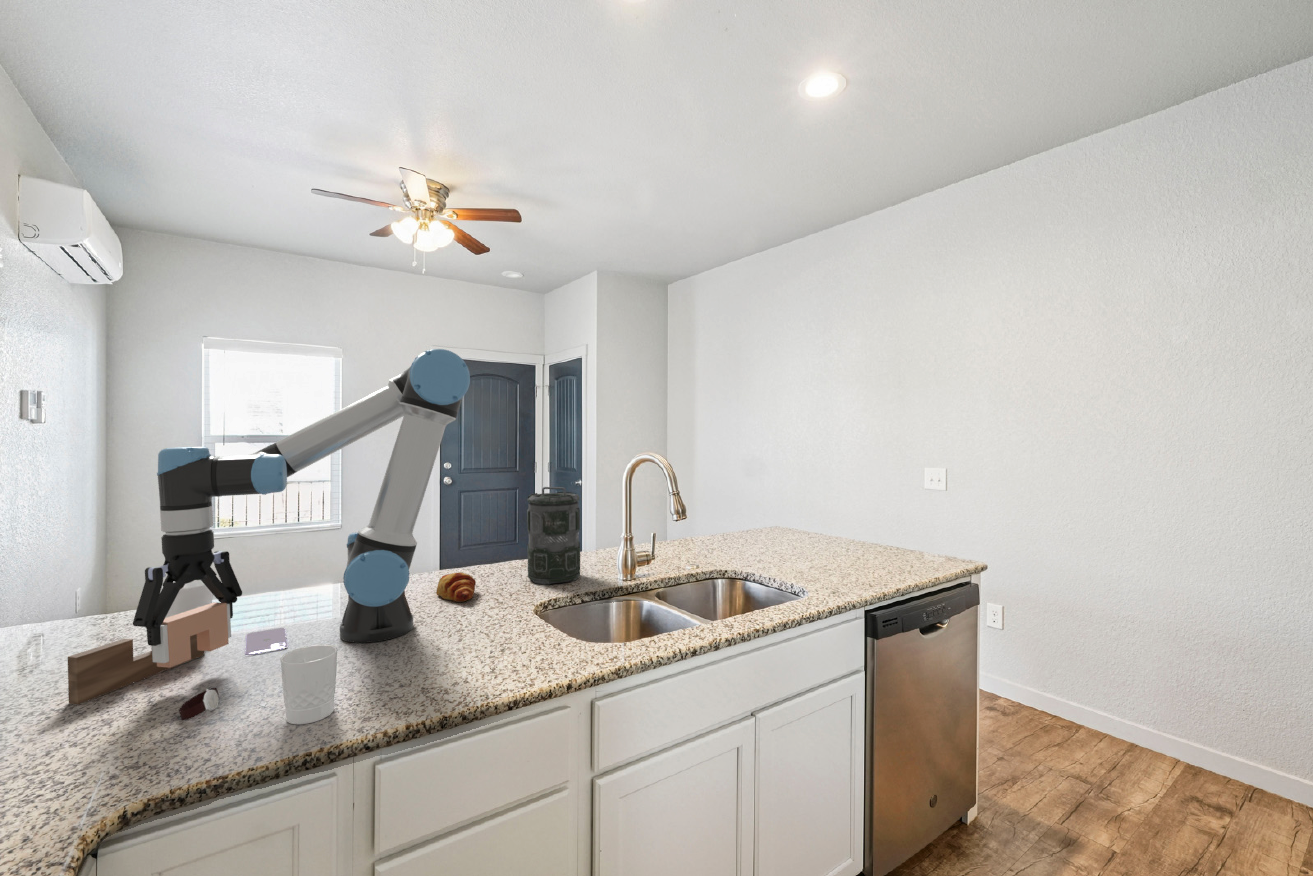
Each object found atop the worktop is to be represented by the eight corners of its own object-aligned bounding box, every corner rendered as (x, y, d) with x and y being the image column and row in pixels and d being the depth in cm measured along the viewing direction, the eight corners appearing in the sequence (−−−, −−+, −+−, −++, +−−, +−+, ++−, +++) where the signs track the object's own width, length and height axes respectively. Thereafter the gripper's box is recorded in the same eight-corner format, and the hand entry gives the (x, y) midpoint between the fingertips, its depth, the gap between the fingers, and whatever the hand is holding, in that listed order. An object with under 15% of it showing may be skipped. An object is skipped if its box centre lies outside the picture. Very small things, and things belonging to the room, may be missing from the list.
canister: (519, 584, 174) (518, 489, 173) (538, 571, 190) (538, 484, 189) (571, 586, 171) (570, 490, 171) (586, 573, 187) (586, 484, 186)
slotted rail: (204, 655, 121) (203, 616, 121) (77, 705, 100) (76, 657, 99) (196, 654, 121) (196, 615, 121) (68, 703, 100) (67, 656, 100)
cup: (185, 647, 125) (183, 591, 125) (150, 644, 127) (149, 588, 127) (224, 632, 134) (223, 580, 134) (191, 629, 136) (190, 578, 136)
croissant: (436, 600, 170) (422, 577, 168) (467, 579, 175) (453, 557, 173) (457, 618, 153) (442, 593, 151) (491, 594, 158) (476, 570, 156)
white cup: (297, 704, 100) (296, 645, 99) (346, 702, 100) (345, 643, 100) (271, 728, 92) (270, 664, 92) (324, 725, 92) (323, 662, 92)
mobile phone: (285, 626, 137) (288, 646, 124) (285, 630, 137) (288, 650, 124) (245, 632, 132) (244, 653, 120) (245, 636, 132) (244, 658, 120)
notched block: (216, 643, 115) (214, 602, 115) (228, 644, 114) (226, 603, 114) (156, 666, 104) (154, 621, 104) (170, 667, 104) (167, 622, 103)
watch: (203, 721, 94) (203, 699, 94) (169, 725, 93) (169, 702, 93) (227, 699, 102) (226, 678, 102) (196, 702, 101) (195, 681, 101)
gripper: (230, 519, 121) (236, 625, 122) (99, 544, 98) (106, 674, 99) (260, 520, 119) (266, 627, 120) (134, 545, 96) (141, 677, 97)
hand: (194, 649), depth 109 cm, fingers closed on notched block, 11 cm apart
